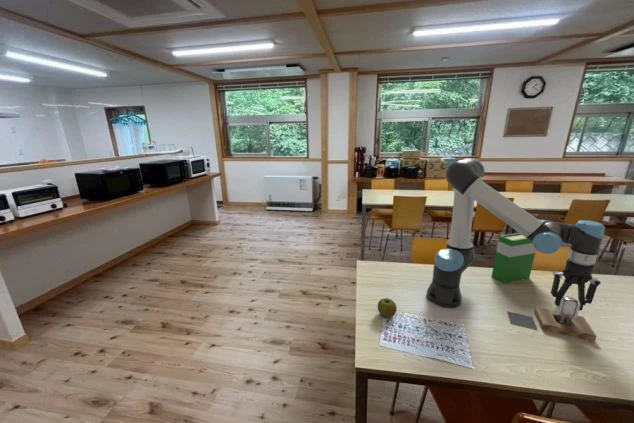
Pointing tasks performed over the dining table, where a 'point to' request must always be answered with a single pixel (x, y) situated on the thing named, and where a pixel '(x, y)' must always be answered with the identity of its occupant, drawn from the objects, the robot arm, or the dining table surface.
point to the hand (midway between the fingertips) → (565, 314)
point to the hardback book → (513, 258)
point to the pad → (522, 320)
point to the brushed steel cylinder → (567, 310)
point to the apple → (387, 307)
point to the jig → (575, 329)
